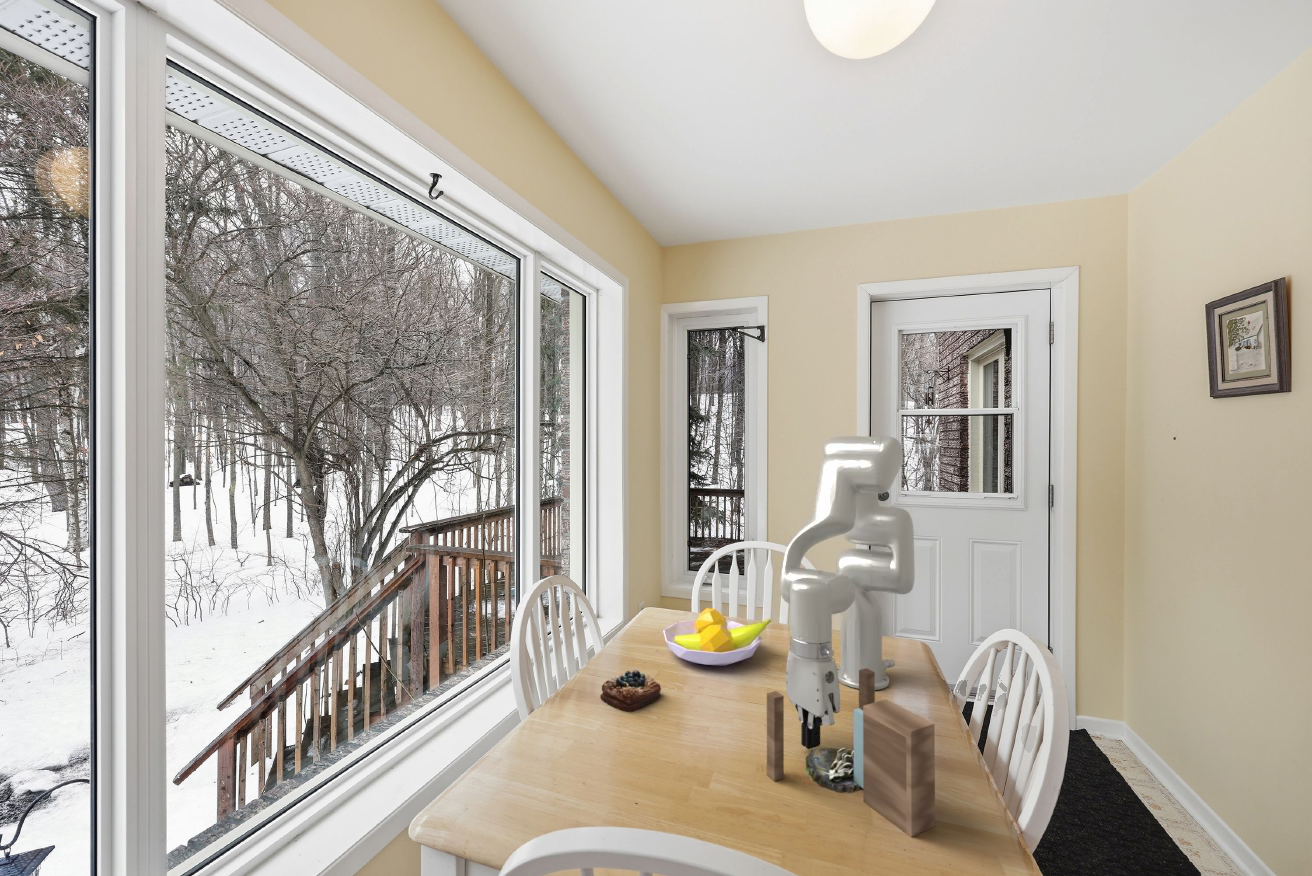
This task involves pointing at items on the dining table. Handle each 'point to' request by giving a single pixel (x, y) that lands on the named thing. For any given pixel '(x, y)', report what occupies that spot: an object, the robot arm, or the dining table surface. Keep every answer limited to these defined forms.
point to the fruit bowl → (713, 639)
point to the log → (832, 769)
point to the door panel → (858, 746)
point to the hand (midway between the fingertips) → (810, 745)
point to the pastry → (630, 691)
